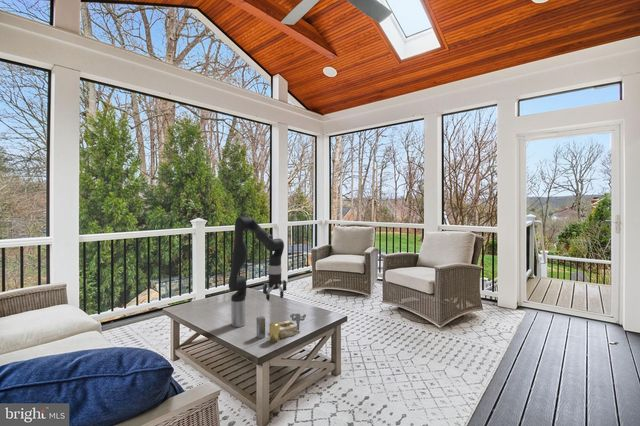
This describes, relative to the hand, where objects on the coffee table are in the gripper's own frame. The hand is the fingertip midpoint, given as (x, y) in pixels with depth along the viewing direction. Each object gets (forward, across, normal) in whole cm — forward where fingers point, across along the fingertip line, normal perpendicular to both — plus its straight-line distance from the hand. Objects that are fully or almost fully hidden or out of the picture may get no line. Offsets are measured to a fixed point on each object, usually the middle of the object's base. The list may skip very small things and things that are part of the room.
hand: (274, 299), depth 189 cm
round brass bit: (+26, -1, -2) cm, 26 cm away
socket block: (+26, -11, -8) cm, 29 cm away
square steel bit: (+26, +4, -11) cm, 29 cm away
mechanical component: (+26, -21, -8) cm, 35 cm away
